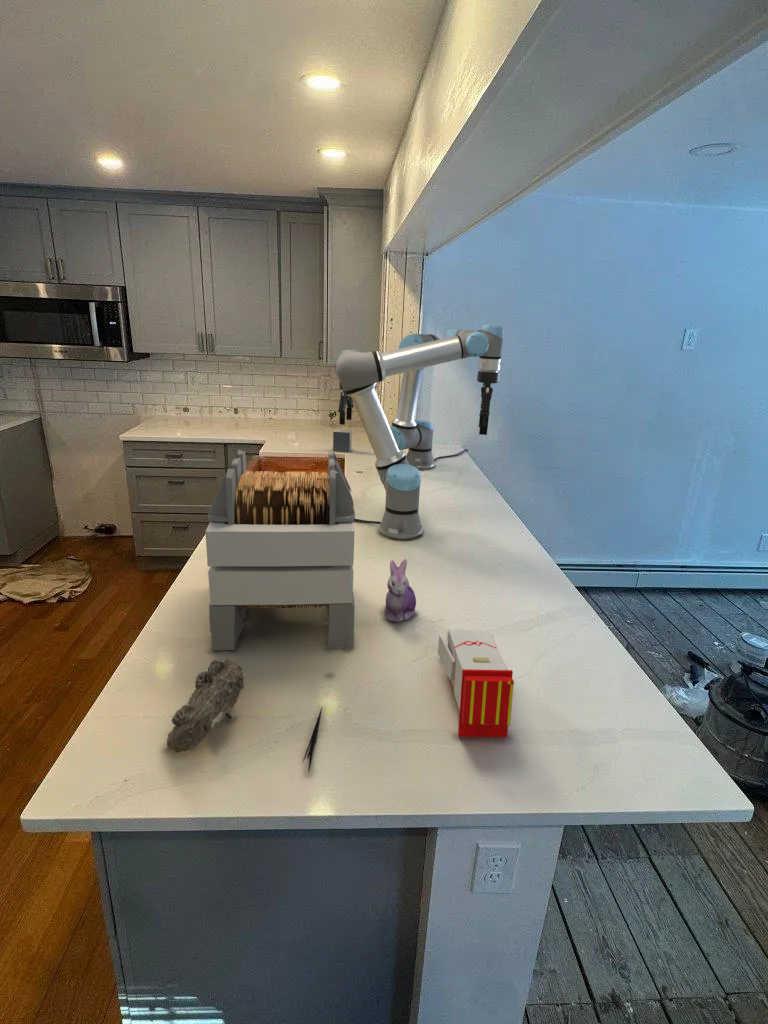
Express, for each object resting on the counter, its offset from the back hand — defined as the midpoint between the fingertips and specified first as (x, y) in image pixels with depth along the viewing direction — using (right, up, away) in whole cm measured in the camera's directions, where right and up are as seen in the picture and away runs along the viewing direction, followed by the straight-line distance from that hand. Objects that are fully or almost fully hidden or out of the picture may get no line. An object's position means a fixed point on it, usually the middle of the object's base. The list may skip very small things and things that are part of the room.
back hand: (345, 422), depth 301 cm
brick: (-3, -14, +11) cm, 18 cm away
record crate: (-5, -74, -156) cm, 172 cm away
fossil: (-12, -87, -193) cm, 212 cm away
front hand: (+56, -18, -95) cm, 112 cm away
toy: (+38, -85, -182) cm, 205 cm away
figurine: (+24, -74, -153) cm, 172 cm away
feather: (+8, -88, -192) cm, 211 cm away
